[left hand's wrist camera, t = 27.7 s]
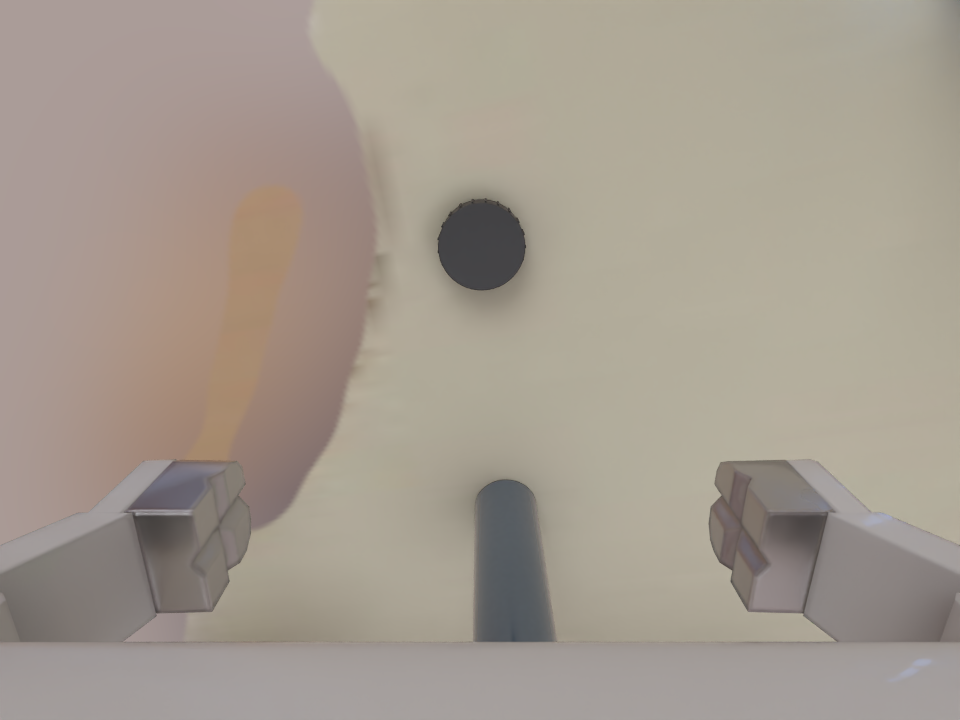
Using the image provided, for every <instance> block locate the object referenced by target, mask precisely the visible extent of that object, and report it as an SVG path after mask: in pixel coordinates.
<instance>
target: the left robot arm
mask: <svg viewBox="0 0 960 720" xmlns="http://www.w3.org/2000/svg"><path fill="white" fill-rule="evenodd" d="M244 486H245V479H244V474H243V469H242V466H241V465H240V464H239V463H238V462H237V461H211V460H176V459H168V460H147V461H143V462H141V463H140V464H139V465H138V466H137V467H136V468H135V469H134V470H133V471H132V472H131V473H130V474H129V475H128V476H127V477H125V478H124V479H123V480H122V481H121V482H120V483H119V484H118V485H117V486H116V487H115V488H114V489H113V490H112V491H111V492H109V493H108V494H107V495H106V496H105V497H104V498H103V499H102V500H101V501H100V502H99V503H98V504H97V505H96V506H94V507H93V508H92V509H91V510H90V511H89V512H88V513H76V514H74V515H71V516H69V517H67V518H64V519H62V520H59V521H57V522H55V523H52V524H50V525H47V526H45V527H43V528H40V529H38V530H35V531H33V532H31V533H28V534H26V535H23V536H21V537H19V538H16V539H14V540H11V541H9V542H7V543H4V544H2V545H0V720H960V545H958V544H956V543H953V542H951V541H948V540H946V539H944V538H941V537H939V536H936V535H934V534H932V533H929V532H927V531H924V530H922V529H920V528H917V527H915V526H913V525H910V524H908V523H905V522H903V521H901V520H898V519H896V518H893V517H891V516H889V515H886V514H884V513H872V512H871V511H870V510H869V509H868V508H867V507H866V506H865V505H863V504H862V503H861V502H860V501H859V500H858V499H857V498H856V497H855V496H854V495H853V494H852V493H851V492H850V491H849V490H847V489H846V488H845V487H844V486H843V485H842V484H841V483H840V482H839V481H838V480H837V479H836V478H835V477H834V476H833V475H832V474H830V473H829V472H828V471H827V470H826V469H825V468H824V467H823V466H822V465H821V464H820V463H819V462H817V461H814V460H811V459H802V460H763V461H727V462H721V463H720V465H719V467H718V469H717V472H716V478H715V486H716V487H717V489H718V490H719V492H720V493H721V495H722V496H721V497H720V498H719V499H718V500H717V501H716V502H715V503H714V504H713V505H712V506H711V509H710V517H709V532H710V541H711V544H712V547H713V550H714V553H715V555H716V556H717V558H718V560H719V562H720V563H721V564H723V565H725V566H726V567H728V568H729V569H731V570H732V576H731V583H732V585H733V587H734V588H735V590H736V592H737V593H738V595H739V597H740V599H741V600H742V602H743V604H744V606H745V607H746V609H747V611H748V612H774V613H804V615H803V616H804V617H806V618H807V619H808V620H810V621H811V622H812V623H814V624H815V625H816V626H817V627H819V628H820V629H821V630H823V631H824V632H825V633H827V634H828V635H829V636H831V637H832V638H833V639H835V640H836V641H837V642H123V641H124V640H126V639H127V638H128V637H130V636H131V635H132V634H134V633H135V632H136V631H137V630H139V629H140V628H141V627H143V626H144V625H145V624H147V623H148V622H149V621H151V620H152V619H153V618H155V617H156V613H185V612H212V611H213V609H214V607H215V606H216V604H217V602H218V600H219V599H220V597H221V595H222V594H223V592H224V590H225V588H226V587H227V585H228V583H229V576H228V570H229V569H231V568H232V567H234V566H235V565H237V564H239V563H240V562H241V560H242V558H243V556H244V554H245V553H246V551H247V547H248V543H249V539H250V535H251V516H250V509H249V506H248V505H247V504H246V503H245V502H244V501H243V500H242V499H241V498H240V497H239V496H238V495H239V493H240V492H241V490H242V489H243V487H244Z"/></svg>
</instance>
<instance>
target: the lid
mask: <svg viewBox="0 0 960 720" xmlns="http://www.w3.org/2000/svg"><path fill="white" fill-rule="evenodd" d="M441 227H442V230H441V233H440V235H439V237H438V240H439V242H438V253H439V257H440V261H441V263H442V266H443V267H444V269H445V271H446V272H447V274H448V275H449V276H450V277H451V278H452V279H453V280H454V281H456V282H457V283H459V284H460V285H462V286H464V287H466V288H470V289H474V290H490V289H494V288H497V287H499V286H501V285H503V284H505V283H506V282H508V281H509V280H510V279H511V278H512V277H513V276H514V275H515V274H516V273H517V271H518V270H519V268H520V266H521V264H522V261H523V260H524V259H523V258H524V254H525V248H526V245H525V239H524V235H525V234H524V231H523V229H521V227H520V225H519V220H518V218H516V217H515V216H514V215H513V214H512V212H511V211H510V209H509V208H508V209H507V208H506V207H505V206H503V205H501V204H499V202H498V201H497V202H494V201H491V200H487V199H486V198H485V200H483V199H479V200H474V199H472V201H469V202H466V203H464V204H460V205H459V207H457V208H456V209H455V210H454V211H453V212H450V213H449V216H448V218H447V219H446V221H445V222H443V224H442V226H441Z"/></svg>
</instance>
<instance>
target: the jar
mask: <svg viewBox="0 0 960 720" xmlns="http://www.w3.org/2000/svg"><path fill="white" fill-rule="evenodd" d="M473 642H557V637H556V631H555V624H554V618H553V611H552V604H551V598H550V591H549V585H548V578H547V572H546V565H545V558H544V552H543V545H542V539H541V532H540V526H539V519H538V513H537V506H536V500H535V497H534V495H533V493H532V492H531V491H530V490H529V488H527V487H526V486H525V485H523V484H521V483H519V482H516V481H512V480H499V481H495V482H493V483H491V484H489V485H487V486H486V487H484V488H483V489H482V490H481V492H480V493H479V494H478V496H477V498H476V502H475V537H474V600H473Z"/></svg>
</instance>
